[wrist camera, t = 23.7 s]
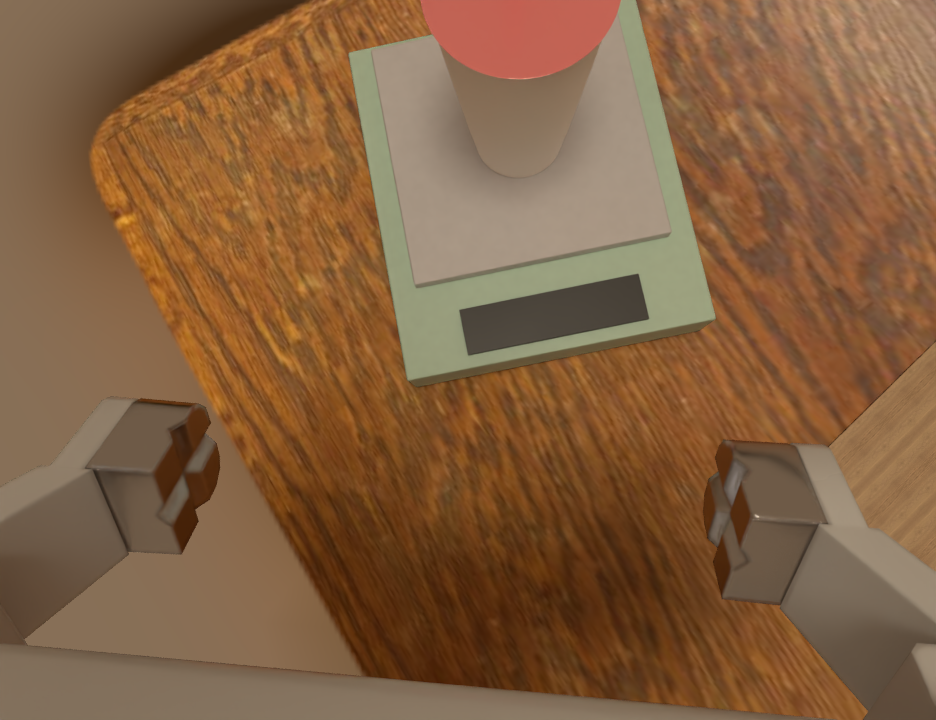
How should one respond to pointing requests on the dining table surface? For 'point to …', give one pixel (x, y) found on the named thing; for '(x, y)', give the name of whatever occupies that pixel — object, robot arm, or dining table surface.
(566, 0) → the cup
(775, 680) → the dining table surface
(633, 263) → the scale
